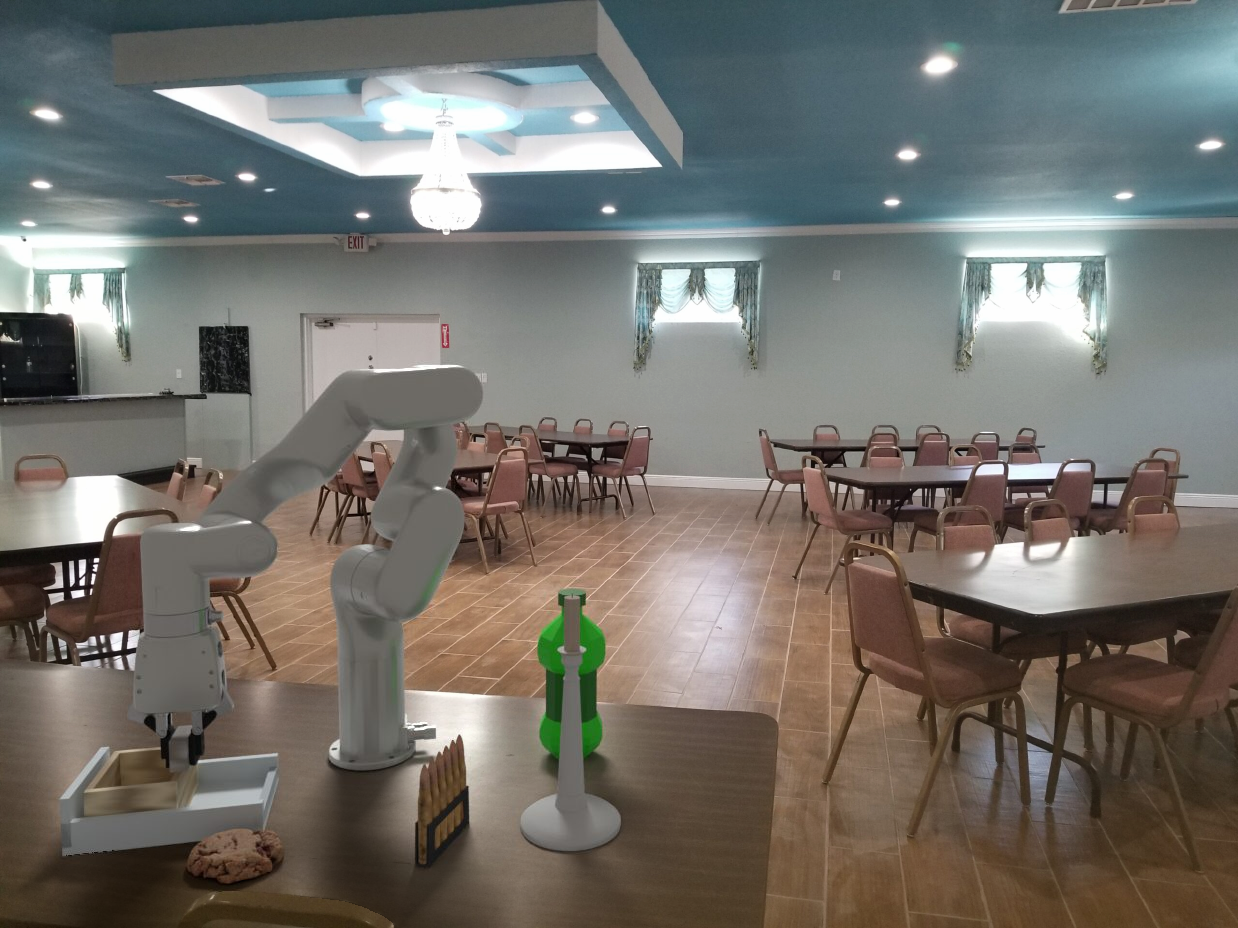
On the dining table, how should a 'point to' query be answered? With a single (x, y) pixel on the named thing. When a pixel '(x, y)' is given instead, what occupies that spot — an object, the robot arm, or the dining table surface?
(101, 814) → the drawer
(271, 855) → the cookie
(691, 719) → the dining table surface
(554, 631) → the plastic bottle
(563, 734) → the candlestick
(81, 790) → the bay
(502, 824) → the dining table surface
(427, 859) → the ammunition clip
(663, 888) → the dining table surface
